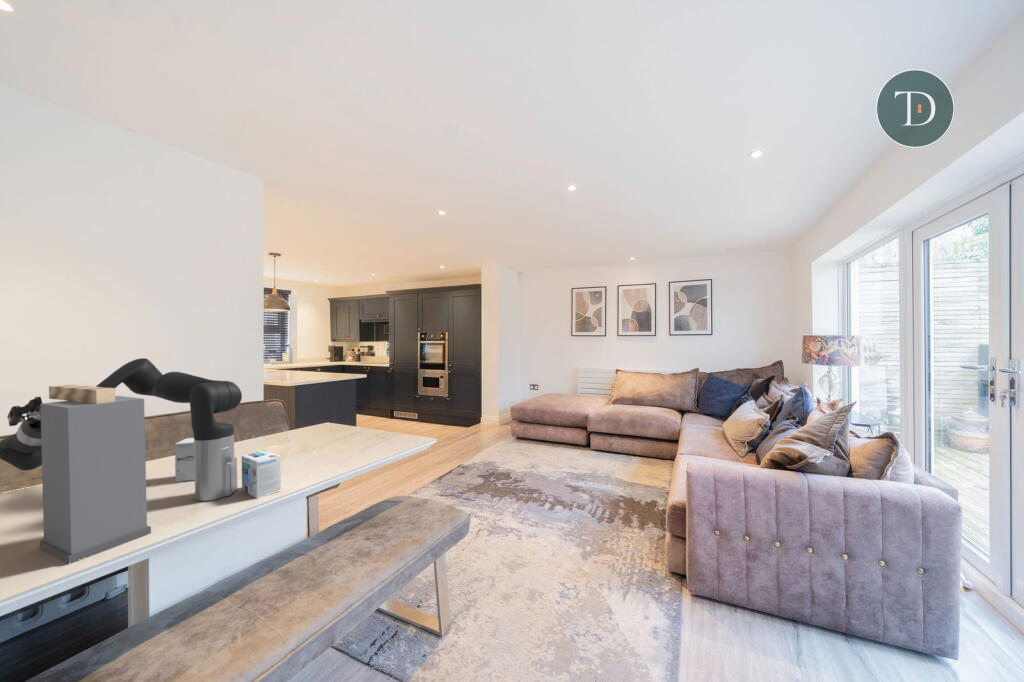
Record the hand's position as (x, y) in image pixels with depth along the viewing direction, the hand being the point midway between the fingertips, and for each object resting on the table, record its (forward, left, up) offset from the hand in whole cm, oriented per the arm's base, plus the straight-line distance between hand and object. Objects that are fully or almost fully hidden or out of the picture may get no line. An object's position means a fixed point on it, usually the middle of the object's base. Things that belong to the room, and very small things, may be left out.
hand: (66, 397), depth 91 cm
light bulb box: (-38, -8, -32) cm, 51 cm away
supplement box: (-14, -30, -32) cm, 46 cm away
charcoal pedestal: (-10, +10, -32) cm, 35 cm away
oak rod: (-6, +7, 0) cm, 9 cm away
